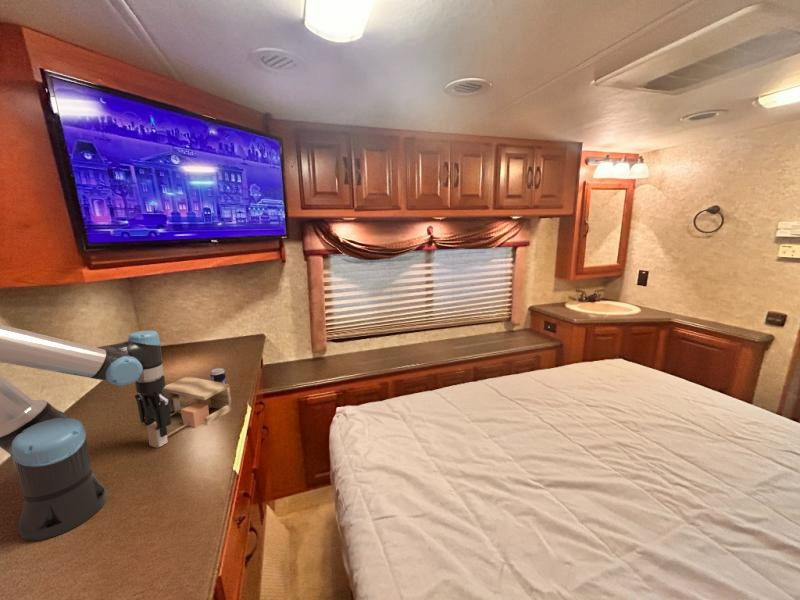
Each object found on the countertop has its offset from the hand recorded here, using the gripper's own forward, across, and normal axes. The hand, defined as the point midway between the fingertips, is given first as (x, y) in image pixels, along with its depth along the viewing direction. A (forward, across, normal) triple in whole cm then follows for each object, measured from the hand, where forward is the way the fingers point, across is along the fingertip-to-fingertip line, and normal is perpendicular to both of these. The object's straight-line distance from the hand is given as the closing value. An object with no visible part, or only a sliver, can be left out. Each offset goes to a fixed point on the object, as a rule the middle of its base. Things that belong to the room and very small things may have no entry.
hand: (158, 442), depth 107 cm
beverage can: (0, +9, -33) cm, 34 cm away
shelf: (0, +6, -20) cm, 20 cm away
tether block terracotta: (0, 0, -8) cm, 8 cm away
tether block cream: (0, +12, -15) cm, 19 cm away
